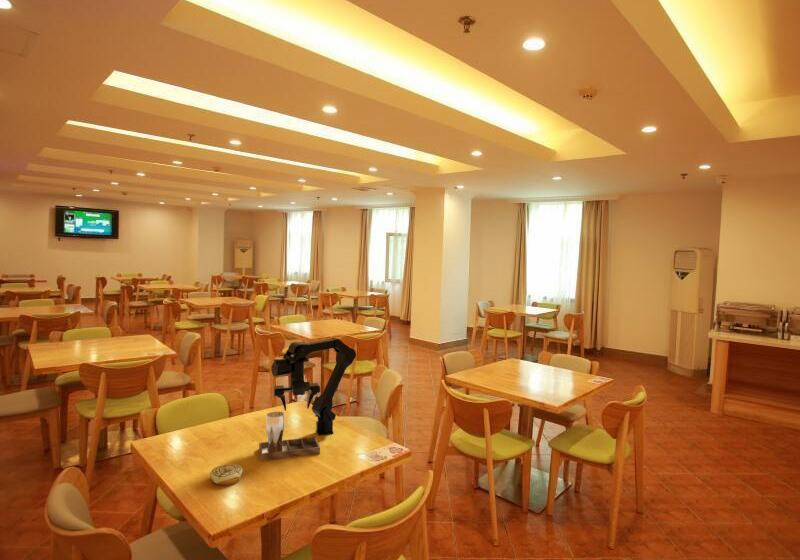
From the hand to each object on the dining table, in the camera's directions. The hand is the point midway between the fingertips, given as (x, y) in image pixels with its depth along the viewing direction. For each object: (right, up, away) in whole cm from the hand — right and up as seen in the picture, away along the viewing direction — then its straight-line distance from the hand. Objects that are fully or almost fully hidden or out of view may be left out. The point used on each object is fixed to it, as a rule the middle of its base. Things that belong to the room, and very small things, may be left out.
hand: (296, 409), depth 194 cm
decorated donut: (-17, -15, -34) cm, 40 cm away
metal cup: (-6, -14, -12) cm, 19 cm away
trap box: (-1, -14, -11) cm, 17 cm away
